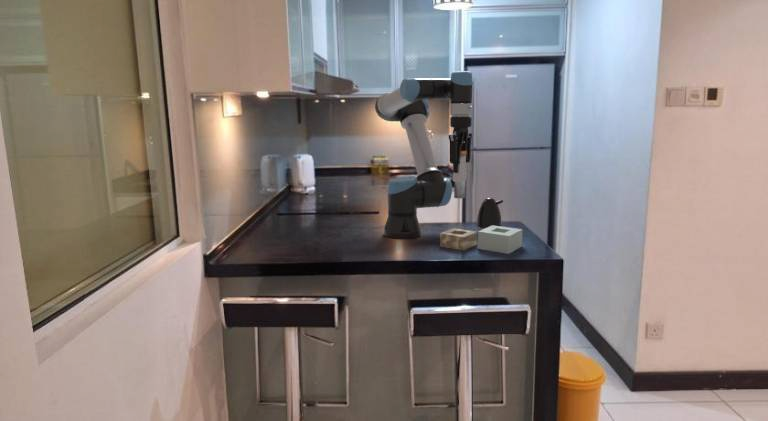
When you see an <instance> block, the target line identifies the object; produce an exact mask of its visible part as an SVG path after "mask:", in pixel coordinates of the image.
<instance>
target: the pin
mask: <svg viewBox="0 0 768 421" xmlns="http://www.w3.org/2000/svg"><path fill="white" fill-rule="evenodd" d="M466 154H467V151H466V150H461V154H460V163H459V164H461V181H460V182H454V181H453V182H454V184H453V188H454V189H453V197H454V199H465V198H466V180H465V175H466Z"/></svg>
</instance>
